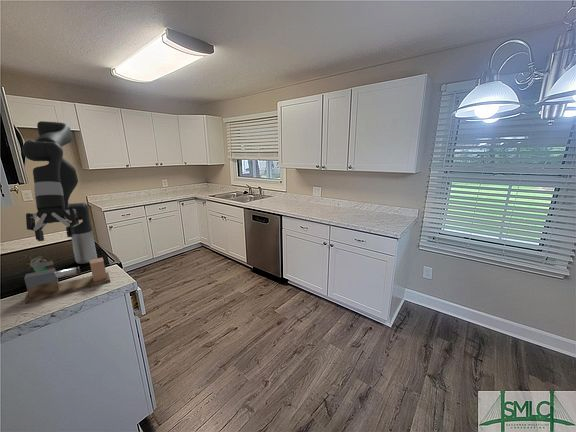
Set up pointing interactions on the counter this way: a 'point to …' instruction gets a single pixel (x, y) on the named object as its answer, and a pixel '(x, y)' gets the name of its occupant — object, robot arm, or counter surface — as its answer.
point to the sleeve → (40, 277)
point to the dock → (61, 288)
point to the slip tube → (67, 272)
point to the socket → (98, 269)
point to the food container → (41, 264)
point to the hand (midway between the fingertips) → (55, 239)
